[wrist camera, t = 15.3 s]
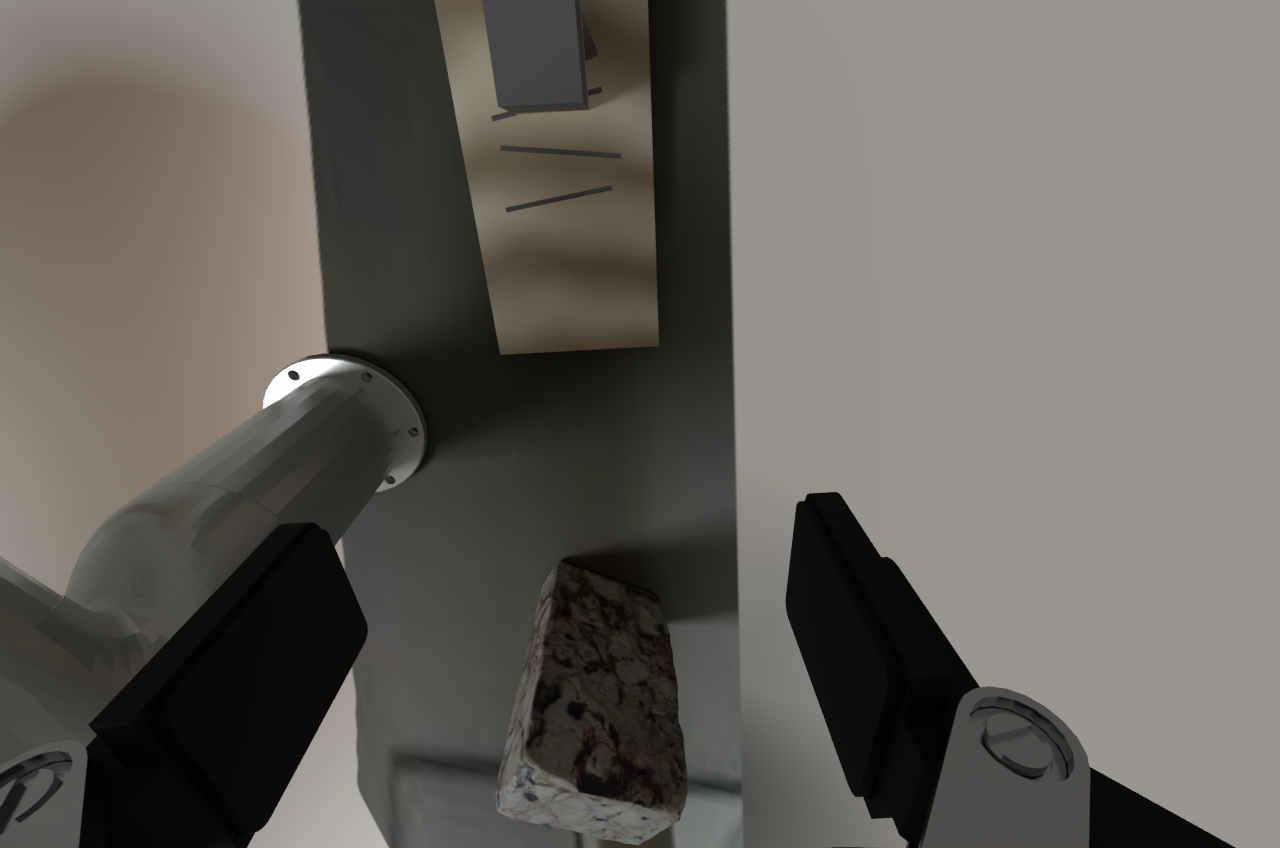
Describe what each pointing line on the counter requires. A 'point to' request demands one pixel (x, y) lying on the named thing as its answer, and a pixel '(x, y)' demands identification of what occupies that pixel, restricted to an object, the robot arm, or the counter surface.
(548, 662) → the stone block
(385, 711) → the counter surface
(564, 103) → the sanding sponge
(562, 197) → the birch board
